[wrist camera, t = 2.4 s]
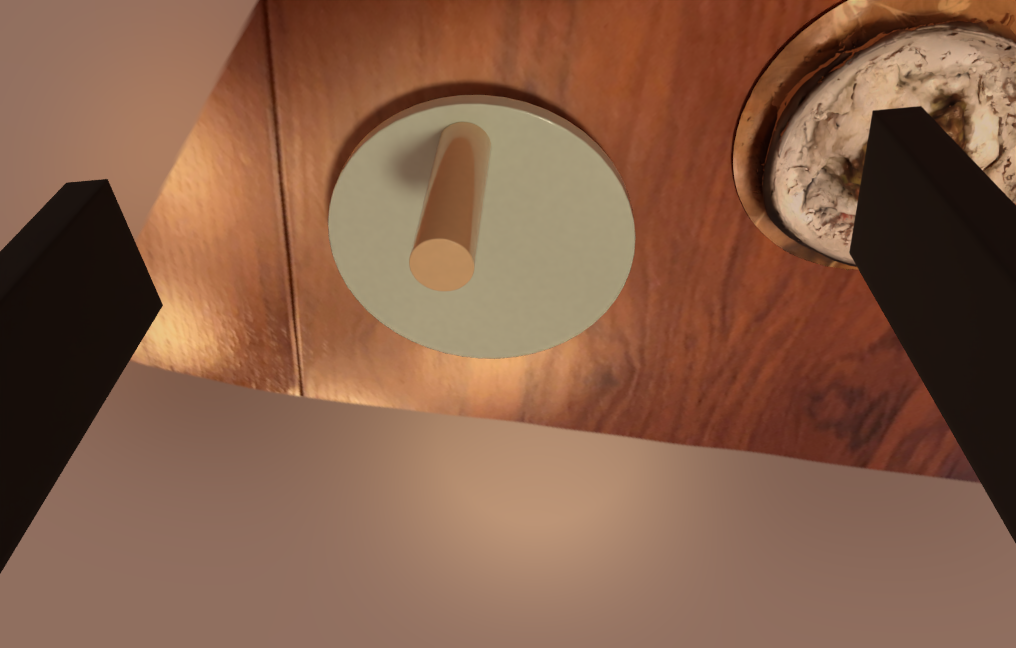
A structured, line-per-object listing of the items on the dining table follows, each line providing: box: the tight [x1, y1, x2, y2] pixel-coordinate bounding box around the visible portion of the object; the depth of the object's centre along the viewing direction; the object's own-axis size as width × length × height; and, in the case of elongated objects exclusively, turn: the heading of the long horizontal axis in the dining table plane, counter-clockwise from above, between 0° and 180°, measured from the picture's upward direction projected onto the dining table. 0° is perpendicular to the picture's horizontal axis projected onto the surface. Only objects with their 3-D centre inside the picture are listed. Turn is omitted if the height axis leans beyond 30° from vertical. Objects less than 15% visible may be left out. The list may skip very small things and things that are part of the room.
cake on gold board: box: [733, 0, 1016, 270], centre depth 37 cm, size 15×15×4 cm
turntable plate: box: [328, 95, 635, 359], centre depth 37 cm, size 15×15×10 cm
